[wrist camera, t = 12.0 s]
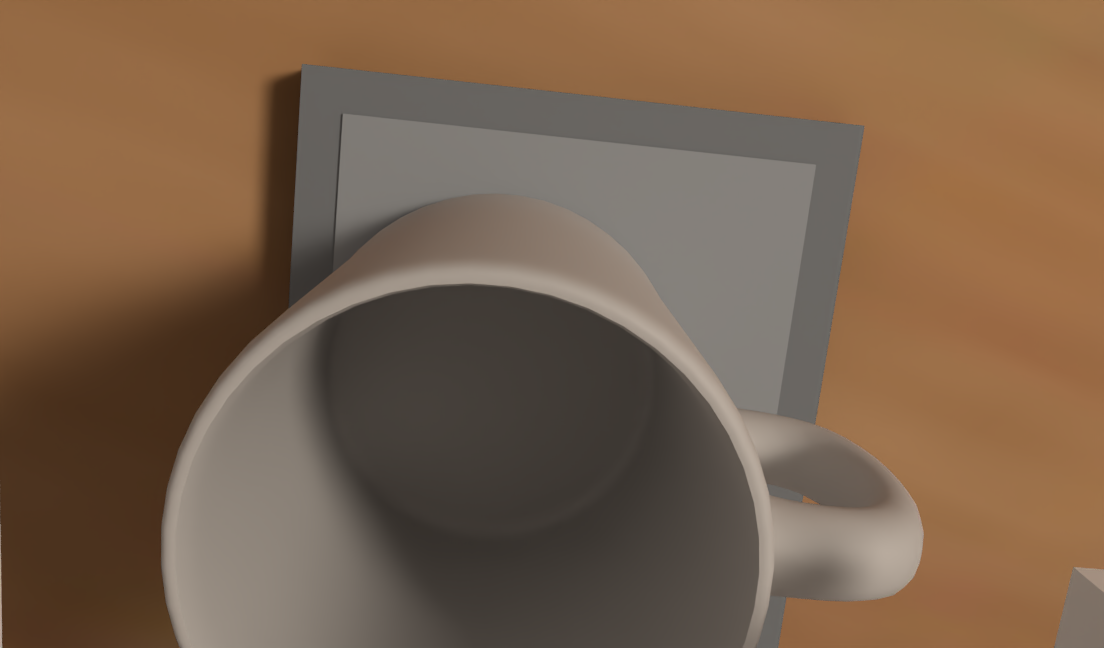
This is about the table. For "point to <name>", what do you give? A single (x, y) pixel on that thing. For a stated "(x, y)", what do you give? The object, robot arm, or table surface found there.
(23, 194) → the table surface
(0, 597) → the robot arm
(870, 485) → the mug
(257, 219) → the table surface
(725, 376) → the coaster
